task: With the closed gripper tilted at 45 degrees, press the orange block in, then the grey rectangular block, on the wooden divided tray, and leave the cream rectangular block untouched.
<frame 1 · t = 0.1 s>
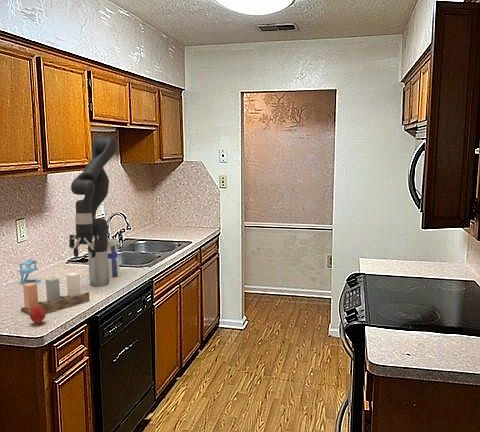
hand: (84, 257, 231), 17 cm above the worktop, tool pointing down, fingers open, 8 cm apart
cream rectangular block: (73, 284, 223), point 7 cm above the worktop, slide at 0.0 cm
orange block: (30, 295, 208), point 7 cm above the worktop, slide at 0.0 cm
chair: (29, 283, 250), on the worktop
grey rectangular block: (53, 290, 216), point 7 cm above the worktop, slide at 0.0 cm
water bottle: (112, 276, 261), on the worktop
onion: (38, 324, 196), on the worktop
wooden divided tray: (56, 306, 216), on the worktop
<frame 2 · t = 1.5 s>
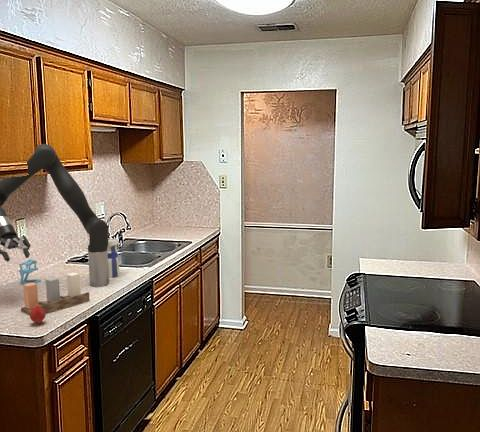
hand: (18, 258, 212), 21 cm above the worktop, tool tilted 45°, fingers open, 8 cm apart
nothing on the worktop moved.
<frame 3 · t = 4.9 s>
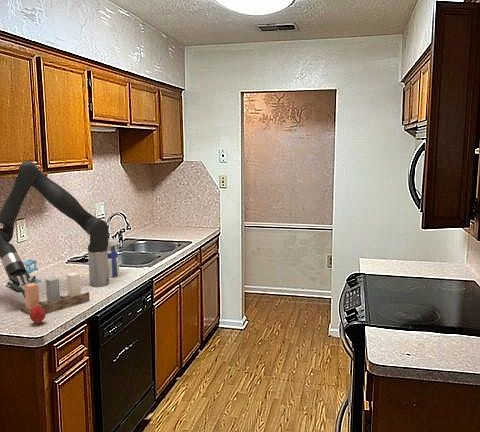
hand: (29, 298, 210), 5 cm above the worktop, tool tilted 45°, fingers closed
orange block: (31, 296, 208), point 7 cm above the worktop, slide at 0.9 cm, touching gripper
everything else where it was.
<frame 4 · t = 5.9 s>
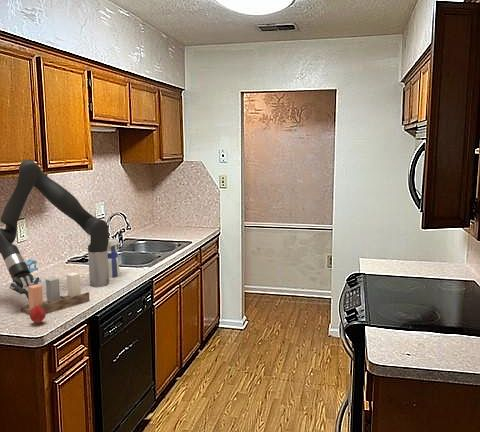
hand: (32, 299, 208), 5 cm above the worktop, tool tilted 45°, fingers closed
orange block: (35, 297, 206), point 7 cm above the worktop, slide at 4.1 cm, touching gripper
everything else where it was.
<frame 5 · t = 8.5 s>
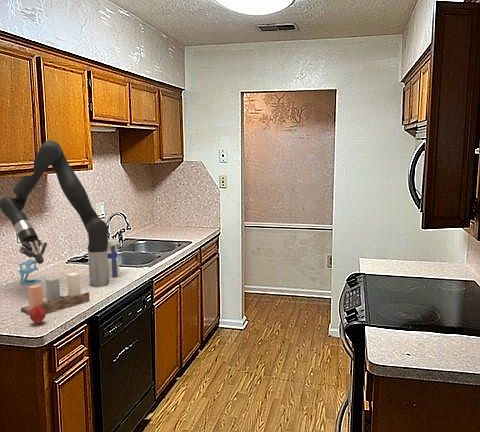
hand: (41, 262, 220), 18 cm above the worktop, tool tilted 45°, fingers closed
orange block: (35, 297, 206), point 7 cm above the worktop, slide at 4.1 cm
everything else where it was.
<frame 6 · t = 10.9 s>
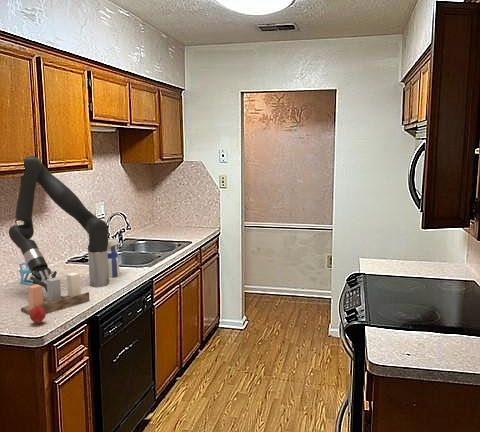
hand: (51, 292, 217), 5 cm above the worktop, tool tilted 45°, fingers closed
grey rectangular block: (53, 290, 215), point 7 cm above the worktop, slide at 0.8 cm, touching gripper
everything else where it was.
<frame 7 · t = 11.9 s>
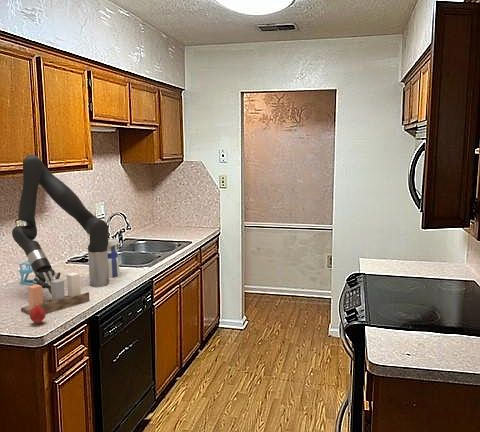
hand: (55, 294, 215), 5 cm above the worktop, tool tilted 45°, fingers closed
grey rectangular block: (57, 292, 213), point 7 cm above the worktop, slide at 4.1 cm, touching gripper
everything else where it was.
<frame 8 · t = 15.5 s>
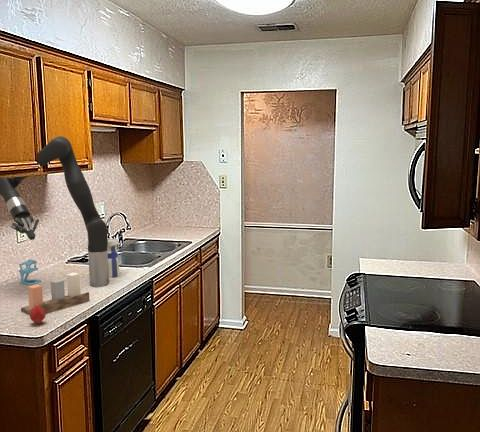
hand: (33, 238, 221), 28 cm above the worktop, tool tilted 45°, fingers closed
grey rectangular block: (57, 292, 213), point 7 cm above the worktop, slide at 4.1 cm
everything else where it was.
at the end: orange block slide at 4.1 cm; grey rectangular block slide at 4.1 cm; cream rectangular block slide at 0.0 cm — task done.
